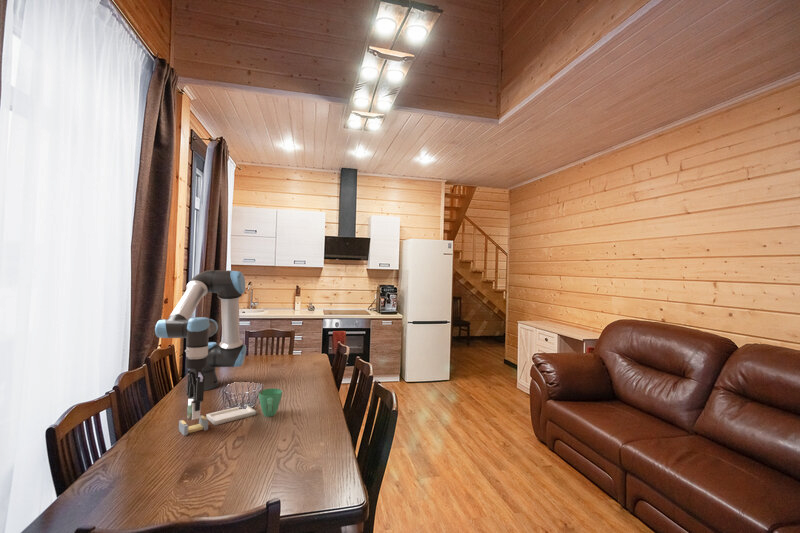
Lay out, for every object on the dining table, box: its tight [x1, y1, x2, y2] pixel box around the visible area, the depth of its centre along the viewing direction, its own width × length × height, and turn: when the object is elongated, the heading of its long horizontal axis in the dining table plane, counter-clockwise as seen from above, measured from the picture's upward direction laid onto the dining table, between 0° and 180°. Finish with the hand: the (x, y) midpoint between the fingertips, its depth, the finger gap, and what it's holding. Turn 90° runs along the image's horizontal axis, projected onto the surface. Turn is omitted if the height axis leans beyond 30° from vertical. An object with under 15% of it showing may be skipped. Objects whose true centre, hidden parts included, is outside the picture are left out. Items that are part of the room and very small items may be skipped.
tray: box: [205, 405, 257, 426], centre depth 155 cm, size 10×17×2 cm, turn 136°
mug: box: [258, 387, 283, 418], centre depth 157 cm, size 15×10×10 cm
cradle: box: [178, 414, 209, 437], centre depth 141 cm, size 7×8×4 cm
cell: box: [186, 397, 196, 421], centre depth 141 cm, size 4×4×8 cm
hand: (193, 416), depth 141 cm, fingers closed on cell, 4 cm apart
